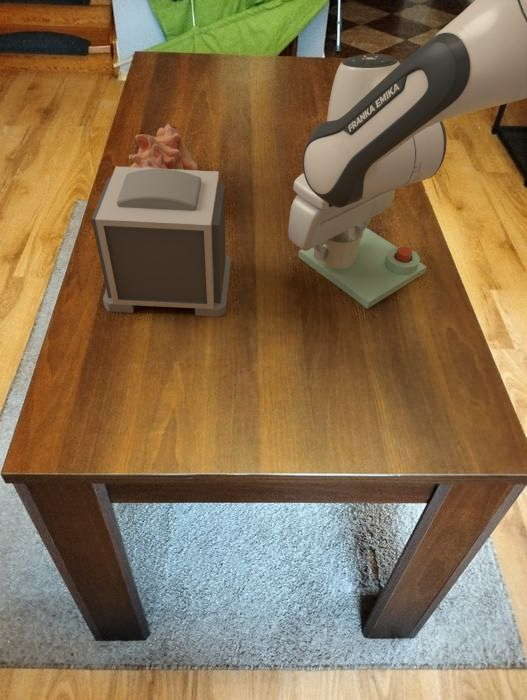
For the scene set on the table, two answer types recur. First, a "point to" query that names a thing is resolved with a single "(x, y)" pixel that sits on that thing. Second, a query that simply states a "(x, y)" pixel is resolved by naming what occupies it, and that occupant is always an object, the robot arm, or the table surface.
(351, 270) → the scale
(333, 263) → the beige cup
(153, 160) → the seashell
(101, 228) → the alarm clock
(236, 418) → the table surface
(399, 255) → the button
